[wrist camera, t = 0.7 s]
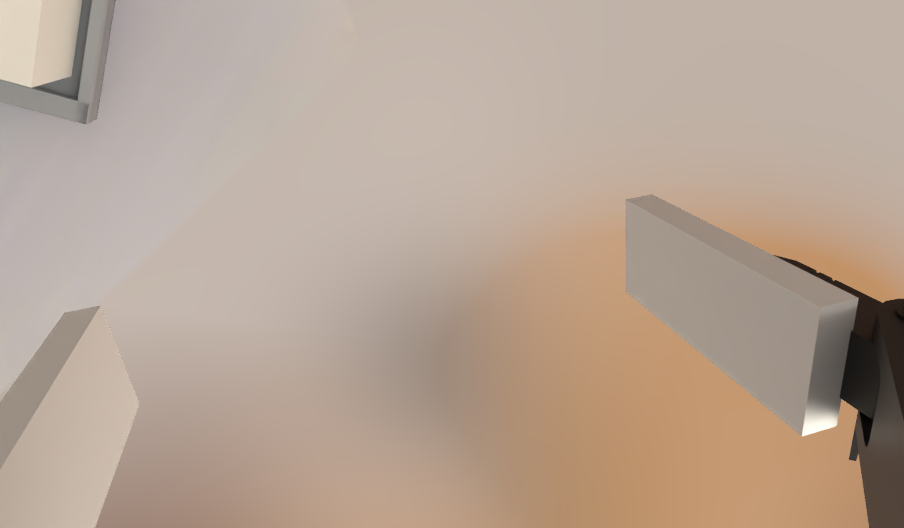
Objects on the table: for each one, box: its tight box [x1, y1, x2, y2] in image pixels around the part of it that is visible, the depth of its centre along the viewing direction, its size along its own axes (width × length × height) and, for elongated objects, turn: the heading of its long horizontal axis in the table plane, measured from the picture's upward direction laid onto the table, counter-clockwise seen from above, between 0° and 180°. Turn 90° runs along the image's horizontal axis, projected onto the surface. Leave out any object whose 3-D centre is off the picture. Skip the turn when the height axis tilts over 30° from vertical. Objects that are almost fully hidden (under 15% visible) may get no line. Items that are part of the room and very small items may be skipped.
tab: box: [0, 0, 82, 88], centre depth 26 cm, size 4×4×6 cm
